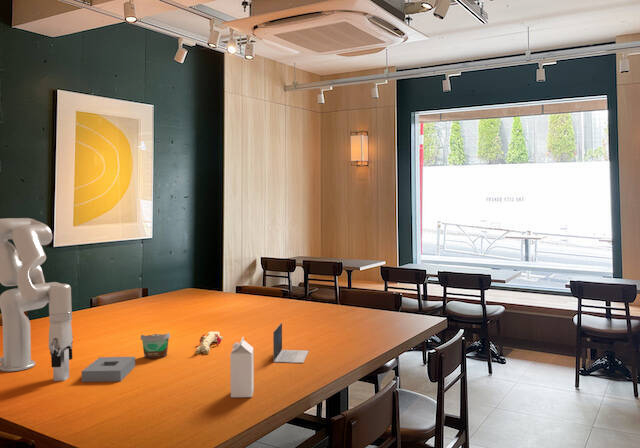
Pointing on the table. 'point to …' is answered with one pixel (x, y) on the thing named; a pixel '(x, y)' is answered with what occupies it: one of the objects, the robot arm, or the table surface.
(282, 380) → the table surface
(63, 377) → the steel pin
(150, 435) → the table surface
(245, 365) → the milk carton
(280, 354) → the laptop
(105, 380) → the block
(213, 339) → the beige piece
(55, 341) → the robot arm
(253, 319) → the table surface
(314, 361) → the table surface
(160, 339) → the food container
